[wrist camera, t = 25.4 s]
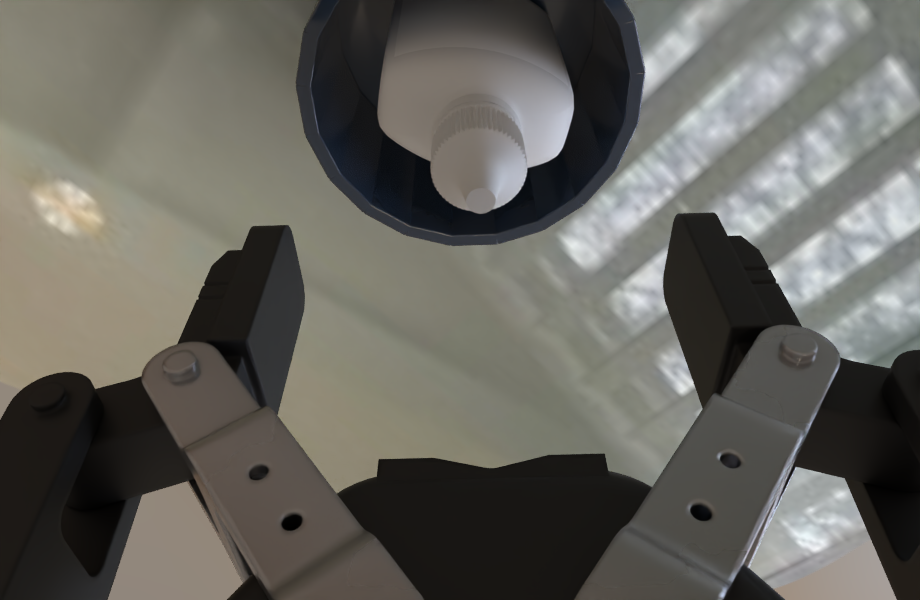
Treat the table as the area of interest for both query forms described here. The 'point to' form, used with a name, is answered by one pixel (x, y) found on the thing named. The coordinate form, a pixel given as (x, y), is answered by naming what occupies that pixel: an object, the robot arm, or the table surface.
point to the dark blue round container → (409, 176)
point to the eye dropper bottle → (475, 94)
